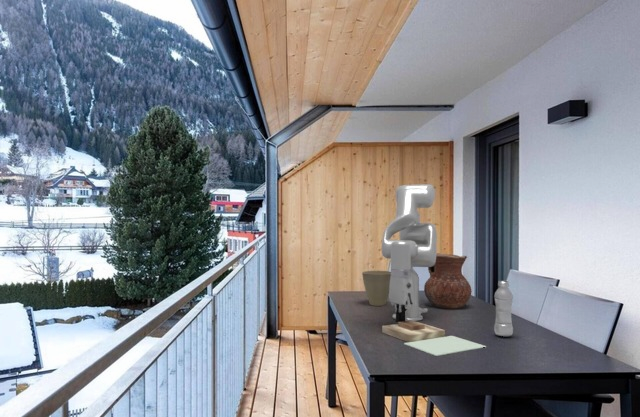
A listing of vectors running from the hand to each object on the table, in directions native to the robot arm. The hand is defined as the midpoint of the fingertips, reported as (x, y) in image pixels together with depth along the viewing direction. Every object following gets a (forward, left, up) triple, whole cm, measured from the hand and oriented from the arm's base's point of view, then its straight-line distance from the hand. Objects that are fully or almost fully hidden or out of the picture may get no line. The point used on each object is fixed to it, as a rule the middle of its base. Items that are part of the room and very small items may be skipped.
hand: (400, 322), depth 183 cm
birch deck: (0, +7, -3) cm, 8 cm away
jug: (-51, -29, -4) cm, 59 cm away
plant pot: (-23, -48, -4) cm, 53 cm away
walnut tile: (0, +6, 0) cm, 6 cm away
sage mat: (0, +23, -3) cm, 24 cm away
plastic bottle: (-28, +24, -4) cm, 37 cm away
